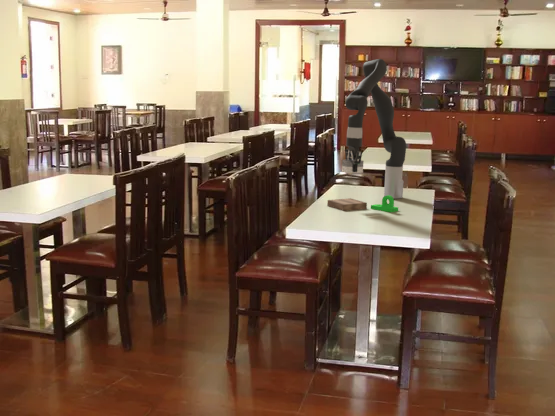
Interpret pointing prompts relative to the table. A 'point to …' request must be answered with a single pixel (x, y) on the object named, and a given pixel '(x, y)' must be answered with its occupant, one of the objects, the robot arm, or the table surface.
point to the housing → (351, 166)
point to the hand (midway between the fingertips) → (352, 171)
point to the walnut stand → (347, 204)
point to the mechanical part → (386, 205)
